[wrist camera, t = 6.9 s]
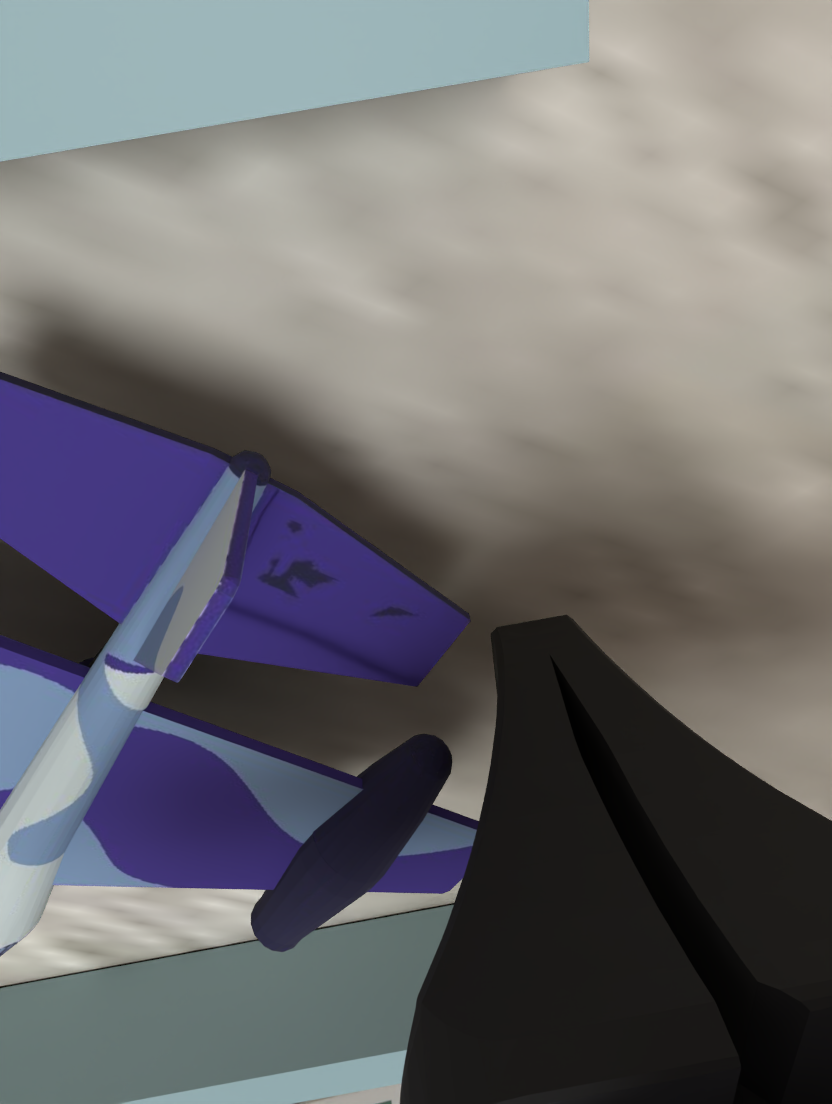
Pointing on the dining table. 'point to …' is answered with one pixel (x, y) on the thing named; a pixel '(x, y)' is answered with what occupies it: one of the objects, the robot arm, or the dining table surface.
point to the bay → (164, 107)
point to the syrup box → (364, 1097)
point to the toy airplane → (167, 651)
